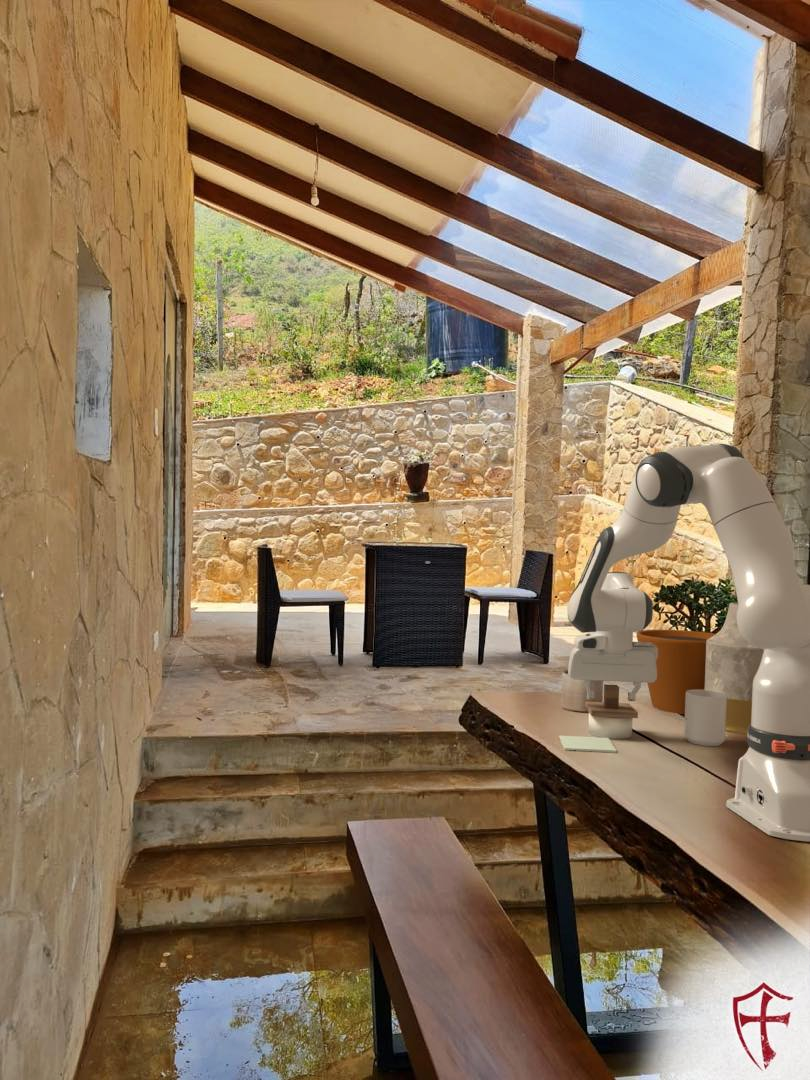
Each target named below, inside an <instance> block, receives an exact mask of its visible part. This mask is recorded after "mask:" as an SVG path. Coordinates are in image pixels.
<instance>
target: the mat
mask: <svg viewBox="0 0 810 1080" xmlns="http://www.w3.org/2000/svg"><path fill="white" fill-rule="evenodd" d="M558 738H560V739H559V741H560V740H561V741H560V744H561V746H562V745H563V746H562V748H563V747H564V748H563V749H565V750H564V751H569V750H572V751H573V750H576V751H575V752H589V751H593V753H609V754H610V753H611V754H613V753H616V754H617V749H616V748H615V746H614V745H613V742H611V739H610V738H602V737H597V736H577V735H574V736H573V735H558ZM573 752H574V751H573Z"/></svg>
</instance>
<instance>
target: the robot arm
mask: <svg viewBox="0 0 810 1080" xmlns="http://www.w3.org/2000/svg"><path fill="white" fill-rule="evenodd" d="M691 504H693V505H696V504H697V505H698V504H702V505H703V506H704V508H705V509H706V511H707V513H708V516H709V519H710V521H711V523H712V527H714V528H713V529H714V530H715V533H716V535H717V538H718V540H719V541H720V544H721V547H722V550H723V551H724V554H725V556H726V559H727V561H728V564H729V567H730V570H731V574H732V578H733V583H734V588H735V593H736V597H737V602H738V611H737V617H736V620H737V626H738V629H739V632H740V633H741V635H742V636H743V638H744V639H745V640H746V641H747V642H749V643H750V644H751V645H753V646H755V647H758V648H761V649H764V653H763V656H762V660H761V663H760V666H759V669H758V671H757V673H756V675H755V677H754V680H753V690H752V716H751V724H750V725H749V727H748V732H747V734H746V735H747V746H748V748H747V751H746V752H745V754H743V756H741V757H740V758H739V759H738V762H737V770H736V771H737V772H736V782H735V793H734V797H732V798H728V799H727V800H726V803H725V807H726V808H727V809H729V810H731V812H733V813H735V814H737V815H738V816H739V817H741V818H743V819H744V820H746V821H747V822H749V823H750V824H751V825H753V826H755V827H756V828H758V829H759V830H761V832H764V833H765V834H766V835H768V836H771V837H776V838H779V839H780V838H781V839H784V840H792V841H798V842H799V841H800V842H809V843H810V584H805V583H804V584H803V583H801V581H800V578H799V576H798V572H797V571H798V570H797V568H796V562H795V557H794V548H795V547H794V545H795V544H794V541H793V538H792V537H791V535H790V532H789V530H788V528H787V526H786V523H785V521H784V520H783V518H782V517H783V516H782V515H781V513H780V511H779V509H778V506H777V504H776V501H775V500H774V498H773V496H772V494H771V492H770V490H769V489H768V487H767V485H766V484H765V482H764V481H763V478H762V477H761V476H760V474H759V472H758V471H757V470H756V469H755V467H754V466H753V465H752V463H751V462H750V461H748V460H747V459H746V458H745V457H744V455H743V453H742V452H741V450H740V449H739V448H737V447H735V446H734V445H730V444H727V443H712V444H709V445H706V444H705V445H693V446H690V445H686V446H685V445H684V446H681V447H677V448H673V449H669V450H665V451H657V452H654V453H651V454H650V455H648V456H645V457H644V458H643V459H642V460H641V461H640V462H639V464H638V466H637V468H636V471H635V473H634V475H633V477H632V480H631V483H629V488H628V491H627V493H626V497H625V501H624V505H623V507H622V510H621V513H620V514H619V516H618V517H617V519H615V521H614V522H613V523H612V524H611V525H610V526H608V527H605V528H603V529H602V531H601V533H600V534H599V535H598V538H597V540H596V542H595V544H594V546H593V549H592V550H591V553H590V555H589V557H588V560H587V562H586V565H585V567H584V570H583V571H582V574H581V576H580V579H579V581H578V583H577V584H576V587H575V588H574V590H573V592H572V593H571V594H570V597H569V600H568V602H567V603H568V604H567V618H568V622H569V623H570V624H571V625H572V626H573V627H574V628H575V629H577V630H578V631H579V632H580V633H581V635H578V636H575V637H574V645H575V647H573V648H572V649H571V652H570V654H569V658H568V659H569V660H568V666H567V670H568V675H569V676H570V677H571V678H572V679H577V680H583V684H584V686H585V688H586V690H587V699H594V695H595V692H594V691H590V689H589V687H588V685H590V680H600V681H603V682H605V681H606V682H625V683H626V682H627V683H632V685H633V686H634V687H633V689H632V691H630V692H629V691H628V692H627V700H628V701H629V702H635V701H636V695H637V694H638V692H639V691H640V689H641V687H642V683H653V682H655V680H656V679H657V668H656V660H657V658H658V648H657V647H656V646H655V645H653V644H652V643H650V642H646V643H643V642H638V641H634V640H633V639H634V638H633V637H634V636H633V635H634V632H636V633H637V632H638V631H642V630H646V628H647V627H649V625H650V624H651V622H652V621H653V612H654V611H653V610H654V609H653V608H654V606H653V604H654V602H653V599H652V598H651V597H650V596H649V595H648V594H647V593H646V592H645V590H640V589H639V588H638V587H637V586H636V585H635V584H634V578H633V576H632V574H631V573H628V572H624V571H610V570H611V568H612V567H613V566H614V565H615V564H617V563H619V562H621V561H624V560H625V559H629V558H630V557H634V556H639V555H643V554H645V553H652V552H653V551H655V550H658V549H660V548H661V547H663V546H664V545H666V543H668V541H669V540H670V539H671V537H672V536H673V534H674V531H675V529H676V526H677V521H678V518H679V514H680V511H681V506H682V505H683V506H684V505H691ZM583 633H584V634H583ZM652 646H654V647H652ZM587 684H588V685H587Z"/></svg>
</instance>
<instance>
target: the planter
mask: <svg viewBox="0 0 810 1080" xmlns="http://www.w3.org/2000/svg"><path fill="white" fill-rule="evenodd" d="M561 675H562V676H561V694H560V706H561V708H562V709H564V710H567V711H569V712H570V711H571V712H575V713H587V714H589V712H588V710H587V709H586V707H585V702H603V701H604V681H600V680H590V685H588V684H587V685H588V687H589V689H590V691H594V692H595V695H594V699H587V690H586V688H585V686H584V684H583V680H577V679H572V678H571V677H570V676H569V675H568V669H566V670H562V674H561Z"/></svg>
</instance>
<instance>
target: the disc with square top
mask: <svg viewBox="0 0 810 1080" xmlns="http://www.w3.org/2000/svg"><path fill="white" fill-rule="evenodd" d="M633 719H634V718H622V717H600V716H591V715H590V713H588V725H587V726H588V727H587V731H588V732H587V733H588V734H590V735H592V736H593V737H600V738H608V739H609V740H611V739H612V740H616V739H617V740H623V739H628V738H629V739H630V738H631V737H632V736H633Z"/></svg>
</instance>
